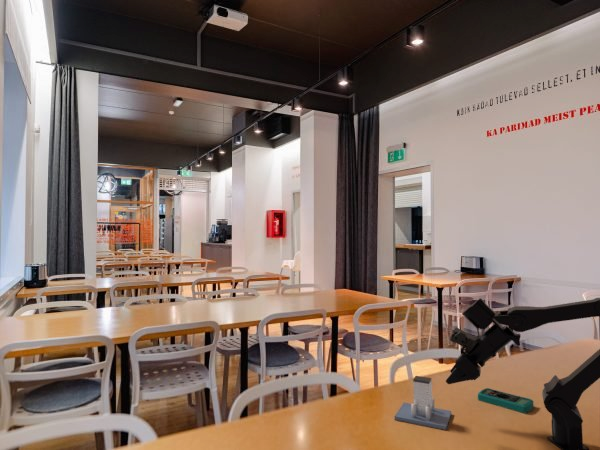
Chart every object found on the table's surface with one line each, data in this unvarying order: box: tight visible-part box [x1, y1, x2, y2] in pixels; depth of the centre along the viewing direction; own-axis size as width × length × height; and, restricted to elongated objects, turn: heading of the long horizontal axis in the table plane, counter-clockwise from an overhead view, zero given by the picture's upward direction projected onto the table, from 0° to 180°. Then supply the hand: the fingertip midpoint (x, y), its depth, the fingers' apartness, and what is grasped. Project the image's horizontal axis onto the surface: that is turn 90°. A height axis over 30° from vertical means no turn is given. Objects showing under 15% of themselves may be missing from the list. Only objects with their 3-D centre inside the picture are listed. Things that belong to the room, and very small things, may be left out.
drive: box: [412, 375, 433, 417], centre depth 115 cm, size 4×4×10 cm
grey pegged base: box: [394, 397, 452, 431], centre depth 115 cm, size 14×11×4 cm
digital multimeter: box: [477, 387, 535, 414], centre depth 124 cm, size 7×15×3 cm, turn 42°
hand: (449, 377), depth 112 cm, fingers open, 9 cm apart
